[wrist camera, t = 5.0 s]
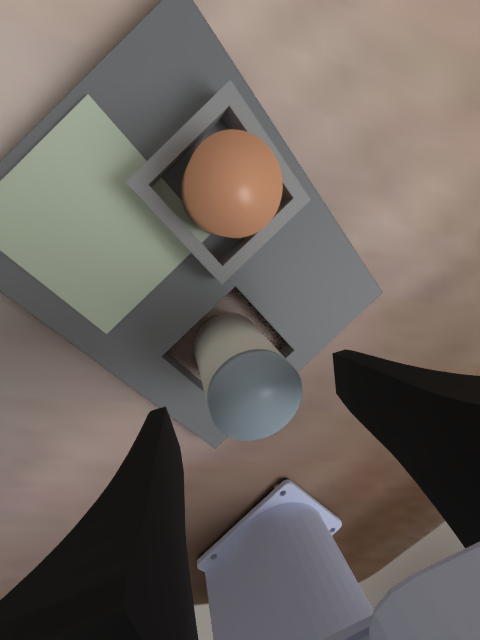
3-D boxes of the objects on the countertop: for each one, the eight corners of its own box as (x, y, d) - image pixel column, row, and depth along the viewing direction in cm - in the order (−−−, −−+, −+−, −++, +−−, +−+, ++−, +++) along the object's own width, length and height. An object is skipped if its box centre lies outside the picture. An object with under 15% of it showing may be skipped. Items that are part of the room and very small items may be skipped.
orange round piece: (218, 251, 14) (232, 257, 11) (163, 188, 13) (163, 179, 10) (273, 199, 14) (300, 193, 11) (223, 130, 13) (240, 104, 10)
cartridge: (225, 386, 19) (252, 456, 13) (179, 346, 17) (188, 406, 11) (271, 343, 18) (319, 394, 13) (229, 298, 17) (263, 335, 11)
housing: (212, 436, 19) (220, 468, 17) (-55, 235, 13) (-109, 237, 10) (369, 288, 19) (402, 298, 16) (178, 3, 12) (183, -55, 10)
